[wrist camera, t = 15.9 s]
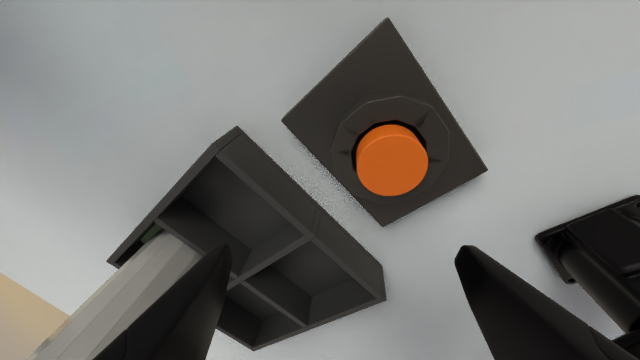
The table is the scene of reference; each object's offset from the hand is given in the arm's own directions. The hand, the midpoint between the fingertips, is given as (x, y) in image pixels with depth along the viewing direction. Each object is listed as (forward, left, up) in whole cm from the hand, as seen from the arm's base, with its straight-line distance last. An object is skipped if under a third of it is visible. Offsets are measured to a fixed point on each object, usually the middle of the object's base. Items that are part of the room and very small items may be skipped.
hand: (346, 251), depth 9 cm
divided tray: (-2, +13, -9) cm, 16 cm away
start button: (0, -3, -6) cm, 7 cm away
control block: (0, -3, -9) cm, 9 cm away
